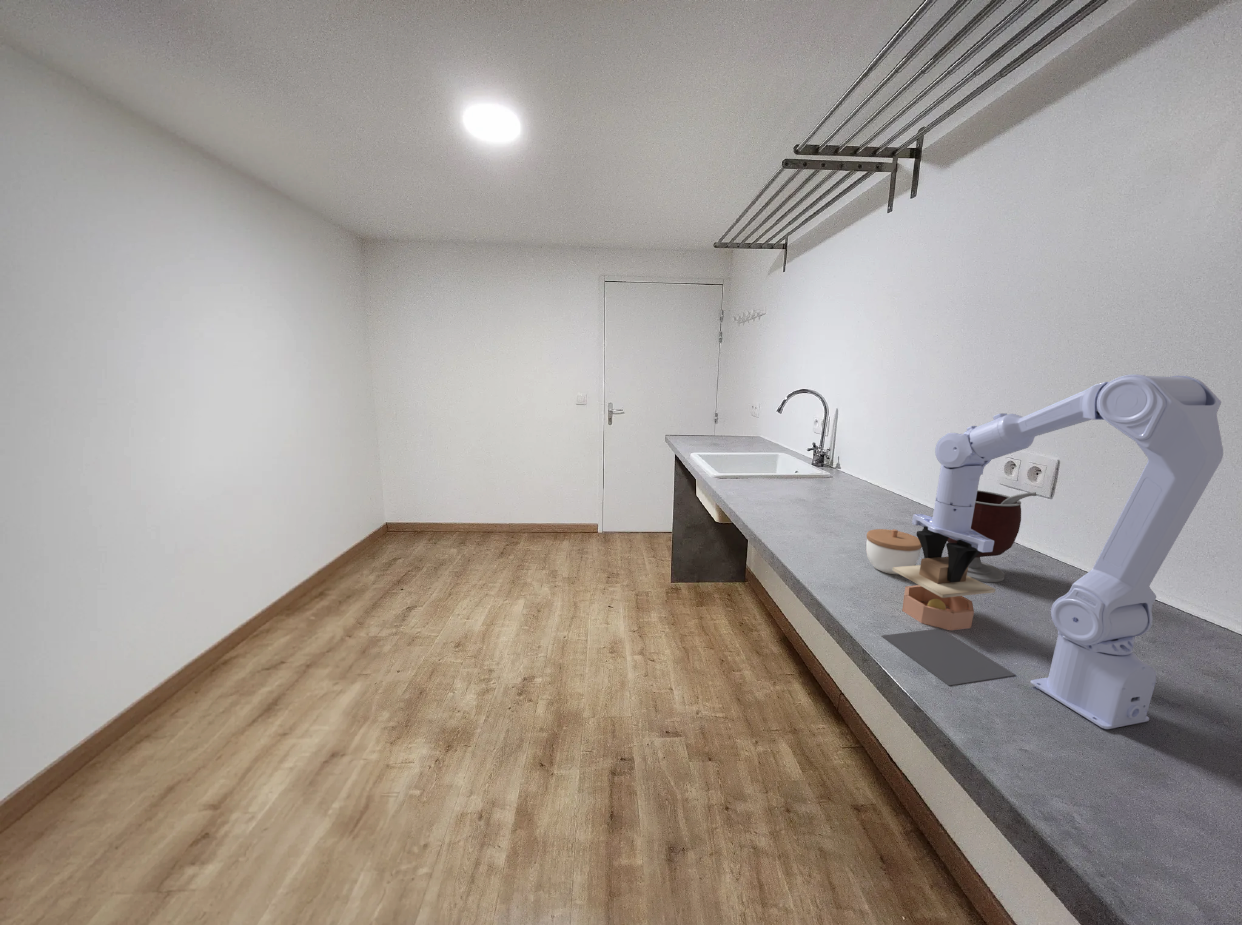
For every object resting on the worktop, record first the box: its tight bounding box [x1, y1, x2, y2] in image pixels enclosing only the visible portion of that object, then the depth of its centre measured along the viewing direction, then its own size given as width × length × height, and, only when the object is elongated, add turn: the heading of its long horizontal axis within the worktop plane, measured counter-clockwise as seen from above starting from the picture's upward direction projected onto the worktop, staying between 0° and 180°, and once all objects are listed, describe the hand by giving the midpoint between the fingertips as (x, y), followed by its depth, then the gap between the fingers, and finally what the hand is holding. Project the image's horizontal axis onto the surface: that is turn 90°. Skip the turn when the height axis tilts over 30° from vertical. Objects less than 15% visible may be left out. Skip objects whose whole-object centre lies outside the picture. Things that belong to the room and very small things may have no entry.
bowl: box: [901, 584, 975, 631], centre depth 90 cm, size 10×10×4 cm
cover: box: [893, 556, 997, 598], centre depth 88 cm, size 11×11×4 cm
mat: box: [881, 627, 1017, 687], centre depth 77 cm, size 13×12×1 cm
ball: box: [928, 599, 946, 610], centre depth 90 cm, size 3×3×3 cm
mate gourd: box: [946, 489, 1037, 583], centre depth 109 cm, size 16×14×20 cm
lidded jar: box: [865, 528, 922, 576], centre depth 109 cm, size 11×11×9 cm
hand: (942, 575), depth 89 cm, fingers closed on cover, 4 cm apart
